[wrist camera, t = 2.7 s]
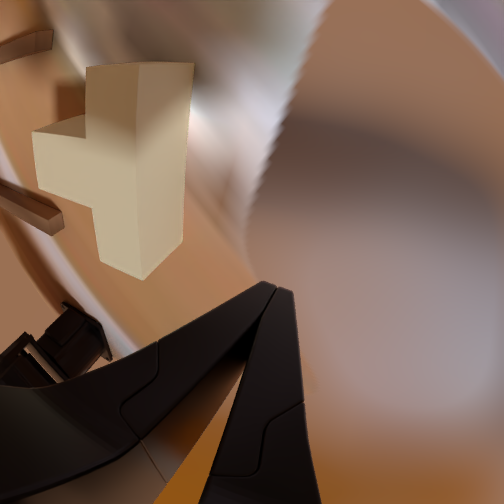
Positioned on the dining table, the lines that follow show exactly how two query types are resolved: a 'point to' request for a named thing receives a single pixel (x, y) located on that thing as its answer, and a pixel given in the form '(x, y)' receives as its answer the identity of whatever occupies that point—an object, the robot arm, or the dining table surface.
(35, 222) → the frame
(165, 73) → the T block
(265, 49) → the dining table surface
